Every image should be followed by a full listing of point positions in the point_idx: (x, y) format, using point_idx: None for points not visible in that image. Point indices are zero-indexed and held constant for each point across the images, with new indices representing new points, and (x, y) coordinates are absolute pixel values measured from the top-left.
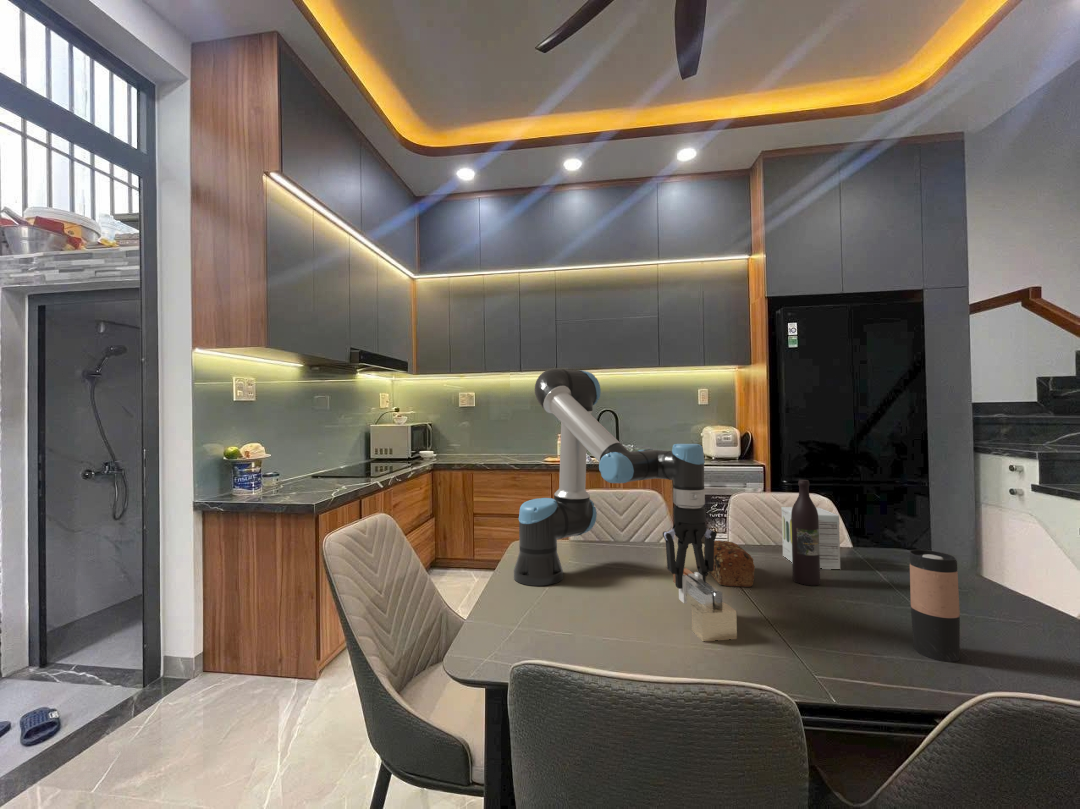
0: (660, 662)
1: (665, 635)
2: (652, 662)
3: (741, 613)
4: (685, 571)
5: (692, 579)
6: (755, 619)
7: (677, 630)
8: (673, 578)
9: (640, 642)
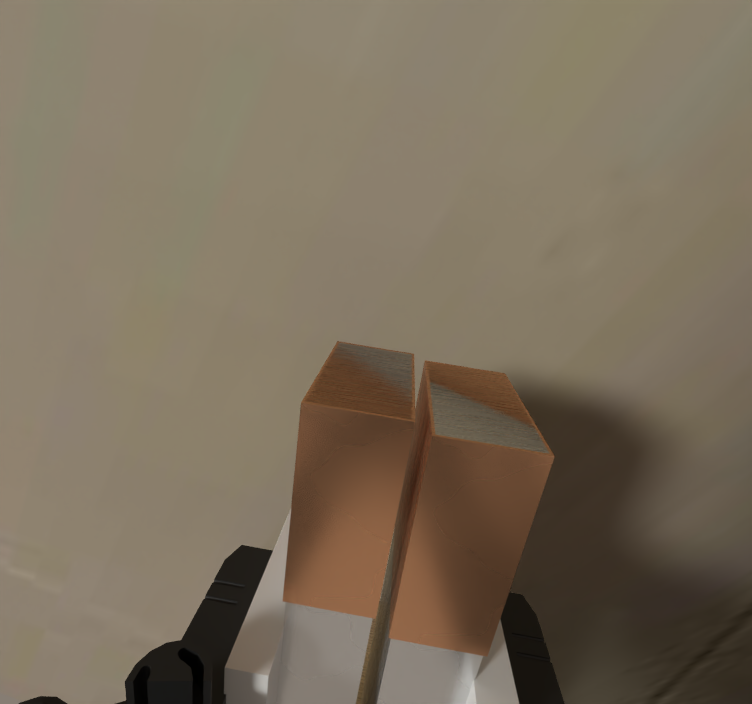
0: (59, 692)
1: (145, 572)
2: (33, 684)
3: (689, 524)
4: (419, 574)
5: (373, 701)
6: (688, 596)
7: (219, 556)
8: (329, 359)
9: (22, 581)
